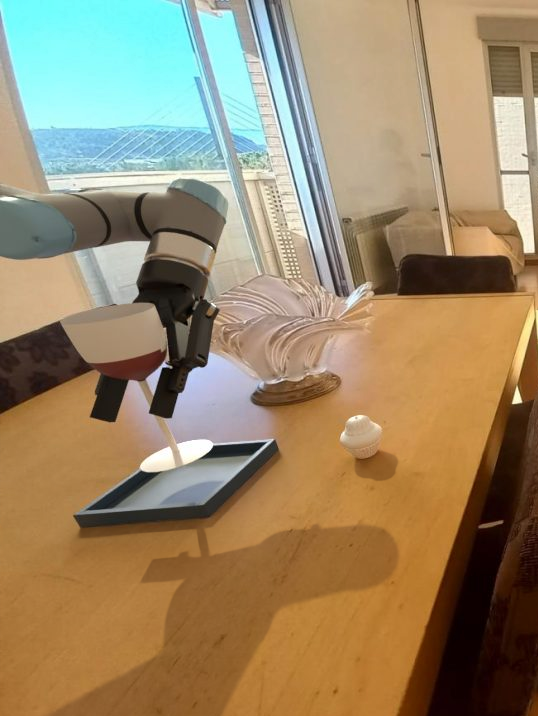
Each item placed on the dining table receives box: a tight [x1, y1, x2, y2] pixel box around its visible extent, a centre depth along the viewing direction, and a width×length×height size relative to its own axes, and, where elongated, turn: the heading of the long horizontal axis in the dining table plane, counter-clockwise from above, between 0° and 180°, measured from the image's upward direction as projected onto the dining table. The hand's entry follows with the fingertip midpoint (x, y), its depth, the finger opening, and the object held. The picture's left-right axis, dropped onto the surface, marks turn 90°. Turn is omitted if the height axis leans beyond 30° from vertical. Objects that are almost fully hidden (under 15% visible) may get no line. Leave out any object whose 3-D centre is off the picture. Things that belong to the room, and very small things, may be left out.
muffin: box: [339, 414, 383, 460], centre depth 77 cm, size 6×6×7 cm
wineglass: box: [59, 302, 213, 472], centre depth 66 cm, size 9×10×22 cm
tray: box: [72, 438, 280, 528], centre depth 71 cm, size 17×17×2 cm
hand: (131, 417), depth 63 cm, fingers closed on wineglass, 7 cm apart
